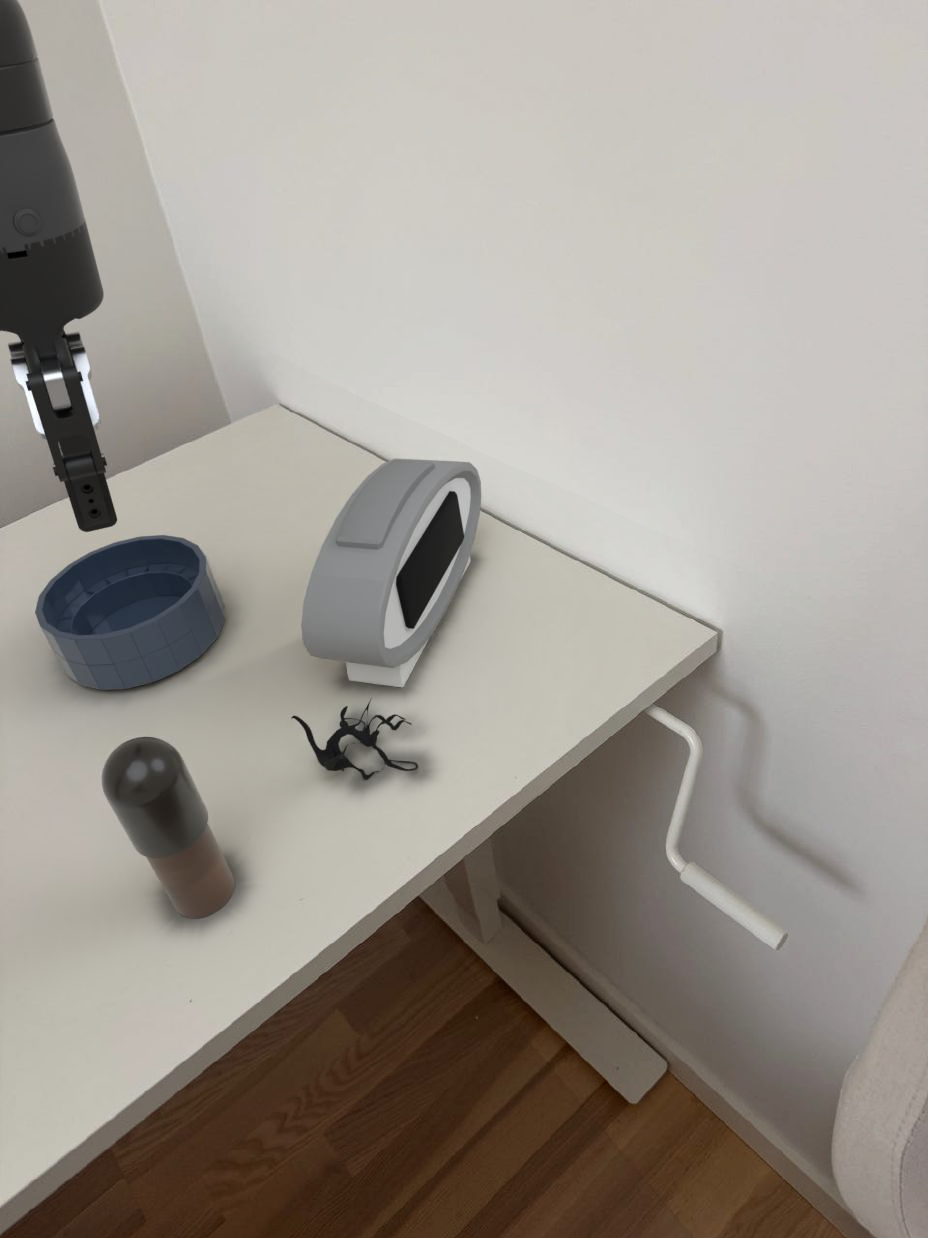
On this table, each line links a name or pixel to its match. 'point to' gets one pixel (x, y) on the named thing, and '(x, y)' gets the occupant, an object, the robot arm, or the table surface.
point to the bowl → (131, 612)
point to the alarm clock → (391, 567)
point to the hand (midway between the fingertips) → (90, 494)
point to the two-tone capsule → (168, 824)
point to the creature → (332, 752)
